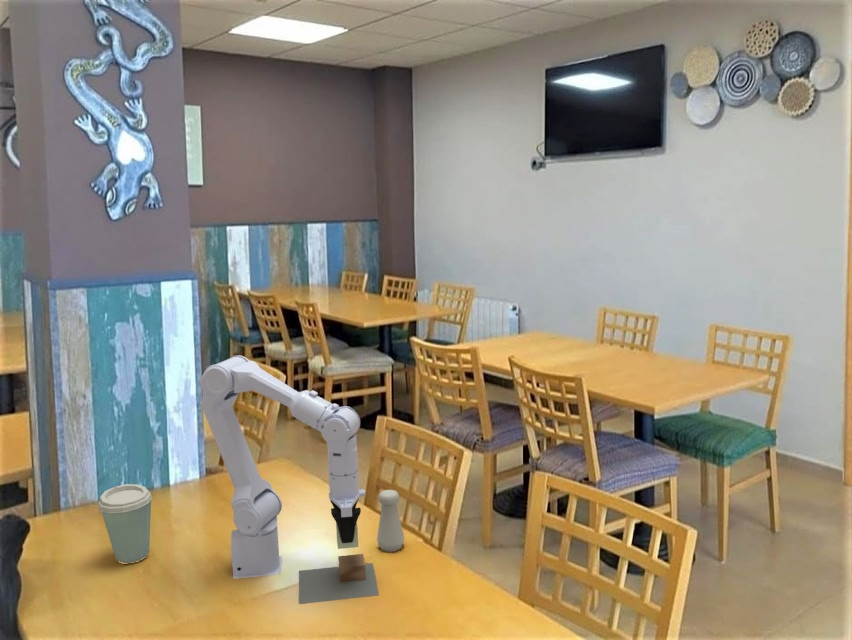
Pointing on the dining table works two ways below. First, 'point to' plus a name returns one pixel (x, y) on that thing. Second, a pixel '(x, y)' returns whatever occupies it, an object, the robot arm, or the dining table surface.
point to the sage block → (347, 545)
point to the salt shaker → (389, 522)
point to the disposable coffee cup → (127, 520)
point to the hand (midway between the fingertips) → (346, 537)
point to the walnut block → (351, 568)
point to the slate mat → (334, 585)
